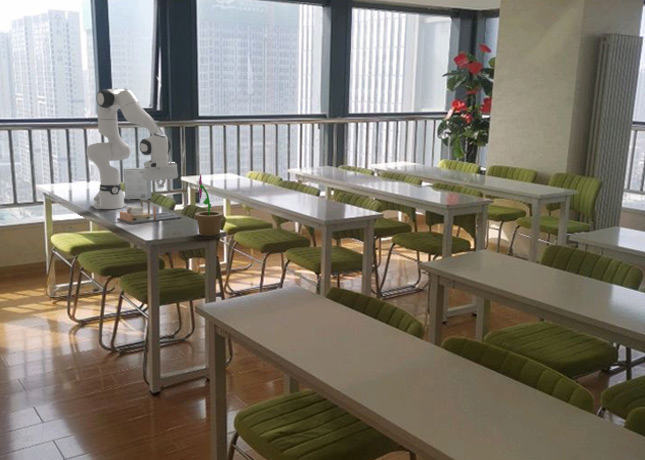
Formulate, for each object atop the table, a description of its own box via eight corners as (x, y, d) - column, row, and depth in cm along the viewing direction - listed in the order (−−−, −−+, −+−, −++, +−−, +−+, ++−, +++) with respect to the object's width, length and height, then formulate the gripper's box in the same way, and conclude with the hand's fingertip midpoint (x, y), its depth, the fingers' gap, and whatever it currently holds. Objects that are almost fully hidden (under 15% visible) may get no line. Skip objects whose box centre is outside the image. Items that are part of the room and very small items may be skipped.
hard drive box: (152, 198, 462) (150, 167, 458) (148, 200, 455) (146, 169, 451) (128, 197, 464) (127, 167, 459) (124, 199, 456) (123, 168, 452)
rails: (122, 219, 385) (122, 217, 385) (168, 213, 404) (168, 211, 403) (129, 221, 380) (129, 219, 379) (175, 215, 398) (175, 213, 398)
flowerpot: (196, 230, 363) (195, 172, 357) (224, 230, 364) (223, 172, 358) (193, 236, 349) (192, 176, 343) (222, 236, 350) (221, 176, 344)
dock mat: (117, 219, 388) (116, 218, 388) (165, 213, 408) (165, 212, 408) (131, 224, 376) (131, 222, 376) (181, 218, 395) (181, 216, 395)
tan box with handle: (124, 217, 387) (123, 200, 385) (142, 215, 394) (141, 198, 392) (132, 220, 380) (131, 202, 378) (151, 218, 387) (150, 200, 385)
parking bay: (118, 218, 388) (117, 205, 387) (142, 215, 397) (142, 202, 396) (131, 222, 376) (131, 209, 375) (156, 219, 386) (156, 206, 385)
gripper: (174, 161, 400) (174, 185, 403) (140, 163, 387) (141, 188, 390) (179, 162, 395) (180, 186, 398) (146, 164, 382) (147, 190, 385)
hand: (160, 187), depth 394 cm, fingers closed
